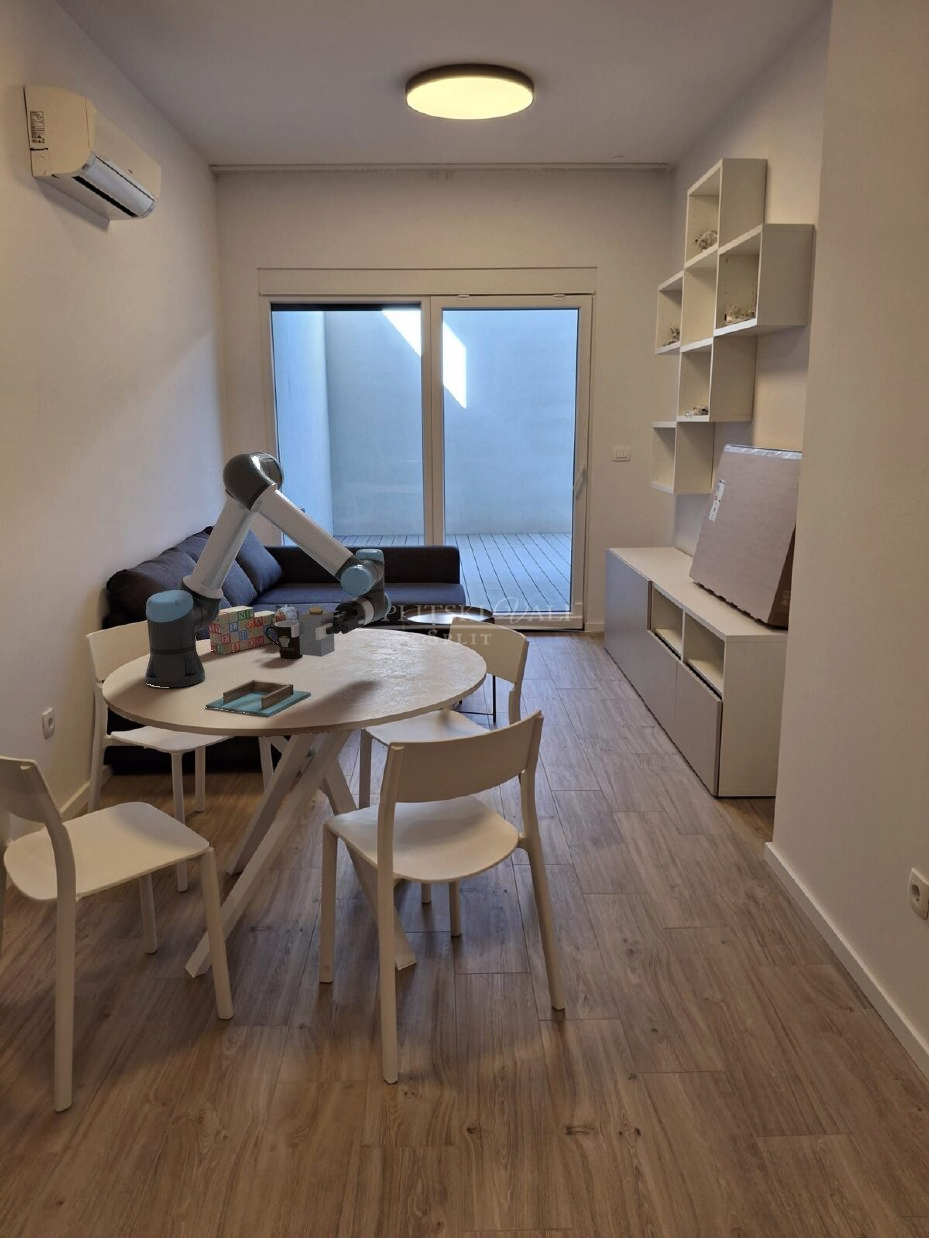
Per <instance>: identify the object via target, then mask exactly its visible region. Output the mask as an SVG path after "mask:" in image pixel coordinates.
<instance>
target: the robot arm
mask: <svg viewBox="0 0 929 1238" xmlns="http://www.w3.org/2000/svg"><path fill="white" fill-rule="evenodd" d="M282 466H283V465H281V463H280V461H278V459H276V458H275V457H274V456H273V455H272V454H268V453H265V452H262V451H255V452H251V453H240V454H237V455H235V456H233V457H231V458H230V459H229V460H228V461H227V462H226V463H225V465H224V467H223V471H222V481H223V484H224V487H225V489H224V493H225V495H226V498H227V499H226V501H225V504H224V505H223V508H222V510H221V511H220V514H219V516H218V519H217V520H216V521H215V522H216V523H215V524H214V527H213V529H212V531H211V533H210V534H209V537H208V538H207V539H208V540H207V541H206V543H205V545H204V547H203V549H202V550H201V551H202V552H201V554H200V556H199V558H198V560H197V562H196V564H195V566H194V569H193V571H192V573H191V574H189V575H185V576H183V578H182V580H181V582H180V584H179V587H178V589H177V590H176V589H171V590H165V591H162V592H157V593H154V594H152V595H151V596H150V597H148V599H147V601H146V603H145V604H146V609H145V615H146V620H147V622H146V624H147V630H148V631H147V632H148V644H149V659H148V663H147V667H146V670H145V677H144V678H145V684H146V683H147V684H151V685H154V686H160V687H180V688H183V687H182V686H186V687H189V686H188V685H191V686H193V685H192V684H195V685H198V684H200V683H202V682H203V681H205V680H206V670H205V668H204V665H203V663H202V660H201V658H200V655H199V654H198V653H199V652H198V651H197V642H196V641H197V640H196V633H197V632H199V631H202V630H203V629H206V628H207V627H208V628H209V625H211V623H213V622H214V621H215V619H216V618H217V616H218V615H219V612H220V610H221V601H222V599H223V598H224V592H223V589H222V586H223V584H224V582H225V580H226V578H227V576H228V574H229V572H230V569H232V566H233V564H234V561H235V560H236V558H237V556H238V553H239V551H240V549H241V547H242V546H243V543H244V542H245V539H246V538H247V536H248V533H249V531H250V529H251V527H252V525H253V523H254V520H255V518H256V517H257V515H258V514H259V515H260V516H262V518H264V519H266V521H267V522H269V523H270V524H271V525H273V526H274V528H275V529H277V530H278V531H280V532H281V533H282V534H283V535H284V536H285V537H287V538H288V539H289V540H290V541H291V542H292V543H294V544H295V545H296V546H298V547H299V548H300V549H301V550H302V551H303V552H304V553H305V554H307V555H308V556H309V557H311V558H312V559H313V560H314V561H315V562H317V564H318V565H320V566H321V567H322V568H324V569H325V570H326V571H327V572H328V573H330V574H331V575H332V576H333V577H334V578H335V579H337V580H338V581H339V582H340V585H341V587H342V590H343V591H344V592H345V593H346V594H348V595H349V596H352V597H353V598H352V599H351V598H350V599H349V600H347V601H344V602H341V603H339V604H338V605H337V606H336V607H335V609H334V610H332V611H333V619H334V620H333V623H334V625H333V623H329V624H326V625H323V626H321V627H318V628H316V640H320V639H322V638H325V637H327V636H329V635H332V634H333V633H334V635H337V634H340V633H341V634H342V635H346V634H348V633H350V632H352V631H354V630H356V629H361V628H362V627H364V626H365V625H368V624H370V623H372V622H376V621H379V620H381V619H382V618H384V617H386V616H387V615H388V614H389V613H390V611H391V608H392V600H391V599H390V596H389V595H388V594H387V593H386V592H385V564H386V563H385V560H384V553H383V551H382V550H381V549H376V548H363V549H358V550H357V551H356V552H355V554H354V553H353V552H352V551H350V550H349V549H348V547H346V546H344V545H343V544H342V543H341V542H340V541H339V540H337V539H336V538H335V537H334V536H332V534H330V533H329V532H328V531H327V530H325V528H323V527H322V526H321V525H320V524H318V523H317V521H315V520H313V518H311V516H309V515H308V514H307V513H305V512H304V511H303V510H302V509H301V508H300V507H298V506H297V505H296V503H294V502H292V500H290V499H289V498H288V497H286V496H285V495H284V494H283V493H282V492H281V491H280V490H281V488H282V486H283V484H284V480H285V479H284V478H285V473H284V469H283V467H282ZM298 621H299V619H298ZM291 633H292V637H297V636H299V623H298V624H296V625H293V626H291ZM204 679H205V680H204ZM201 681H202V682H201ZM199 682H200V683H199ZM197 683H198V684H197Z"/></svg>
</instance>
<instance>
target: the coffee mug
mask: <svg viewBox="0 0 929 1238" xmlns="http://www.w3.org/2000/svg"><path fill="white" fill-rule="evenodd" d="M298 623H299V621H295V620H291V621H281V622H277V623H275V627H273V626H271V627H268V628H267V629H266V636H267V637H268V638H269V639H270V641H272V642H273V643H272V644H274V645H275V646H277V647H278V652H279V657H280V659H281V660H287V661H288V660H289V661H292V660H297V659H298V660H299V659H301V658H303V656H304V655H301V654H300V636H297V637H292V633H291V626H293V625H296V624H298ZM270 628H272V629H274V630H275V631H276V635H277V642H275V641H274V640H272V639H271V638H270V637H269V635H268V630H269V629H270Z"/></svg>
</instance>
